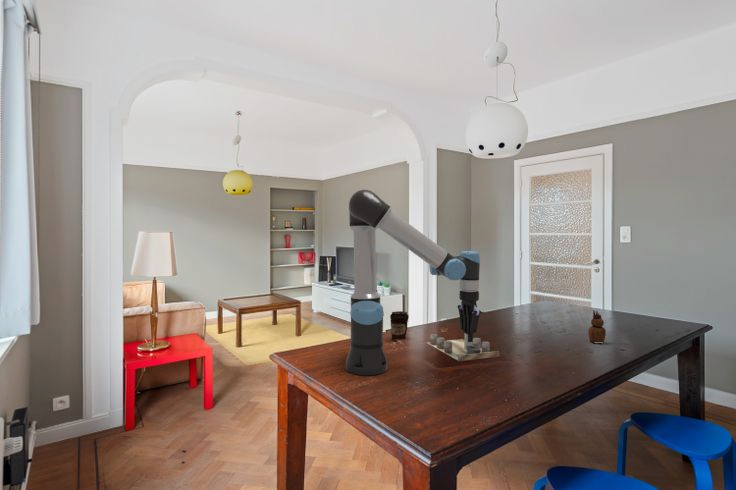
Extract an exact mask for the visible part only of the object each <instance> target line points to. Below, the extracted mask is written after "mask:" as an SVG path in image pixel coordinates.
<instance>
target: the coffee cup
mask: <svg viewBox="0 0 736 490" xmlns="http://www.w3.org/2000/svg"><path fill="white" fill-rule="evenodd" d="M389 316H390V317H389V318H390V331H391V334H390V335H391V341H392V342H395V343H399V341H398V340H403V339H406V338H407V331H408V320H409V314H408V312H407V311H404V310H403V311H401V310H399V311H392V312H391V314H390V315H389Z"/></svg>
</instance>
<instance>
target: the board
mask: <svg viewBox="0 0 736 490" xmlns="http://www.w3.org/2000/svg"><path fill="white" fill-rule="evenodd" d="M429 338H430V339H429V340H430V341H427V342H426V344H428V345H430V346H431V347H434V348H435V349H437V350H438V351H440V352H442V353H443V354H446V355H447V356H449V357H451V358H453V359H454V360H456V361H458V362H465V361H474V360H481V359H489V358H491V359H492V358H498V357H500V351H499V350H493V351H490V342H489V341H481V338H479V337H473V341H472V345H473V346H478V347H480V353H474V354H467V350H465V349H464V338H461V339H449V340H445V337H441V336H440V337H438V334H436V333H430V337H429Z"/></svg>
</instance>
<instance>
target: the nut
mask: <svg viewBox="0 0 736 490" xmlns="http://www.w3.org/2000/svg"><path fill="white" fill-rule="evenodd" d="M474 353H480V347H478V346H473V345H472V346H467V354H474Z"/></svg>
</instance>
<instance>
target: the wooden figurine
mask: <svg viewBox="0 0 736 490" xmlns="http://www.w3.org/2000/svg"><path fill="white" fill-rule="evenodd" d="M604 323H605V322H604V320H603V319H602V315H601V314H600V313H599V312H598V311H597V310H596V311H595V309H593V312H592V319H591V321H590V327H589V328H588V329H587V330H588V333H587V334H588V338H589V341H590V342H591V341H592V342H603V343H604V342H605V340H606V336H607V335H606V334H607V330H606V329H605V327H603V326H604ZM592 342H591V343H592Z"/></svg>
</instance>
